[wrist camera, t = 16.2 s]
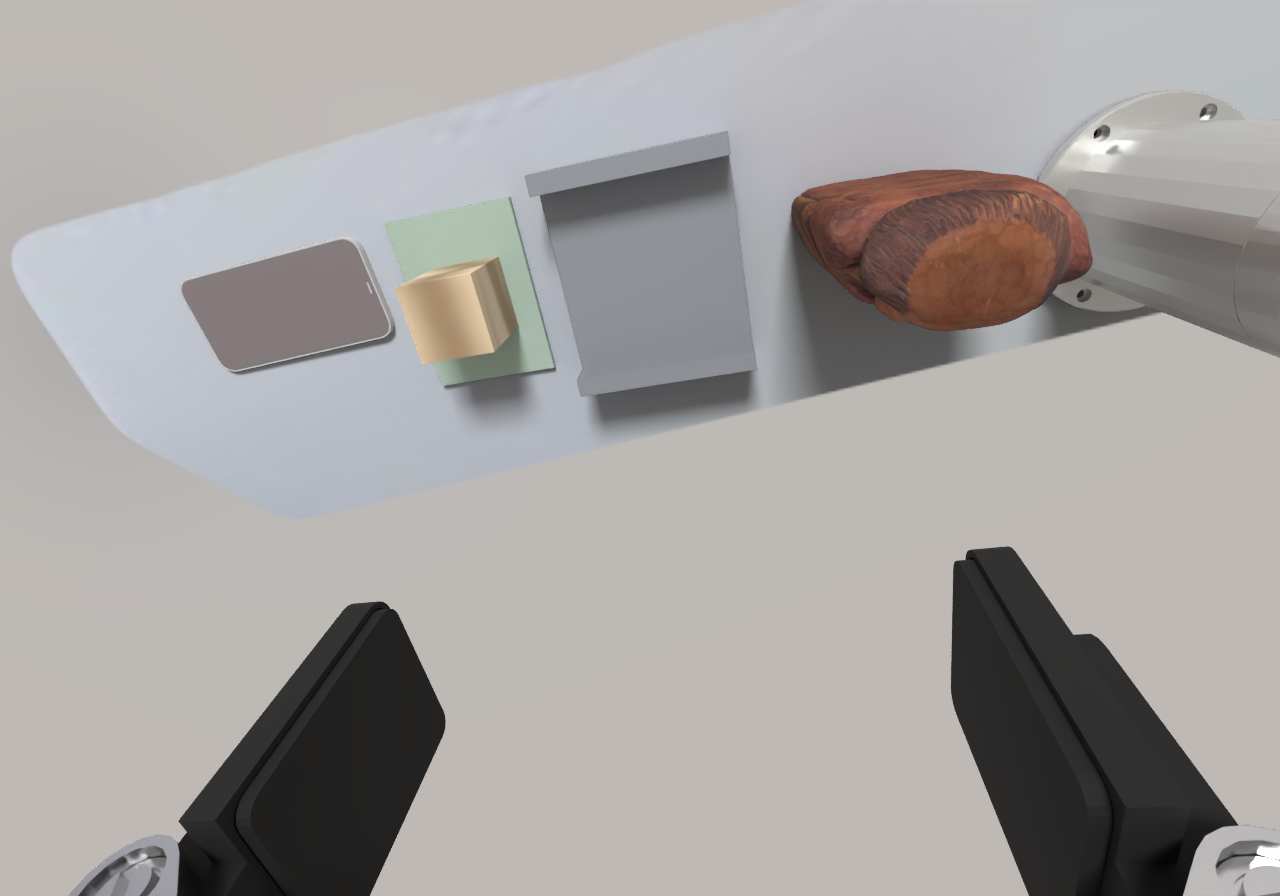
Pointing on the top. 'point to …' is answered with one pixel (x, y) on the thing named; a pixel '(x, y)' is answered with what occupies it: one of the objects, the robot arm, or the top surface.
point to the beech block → (458, 310)
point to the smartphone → (289, 304)
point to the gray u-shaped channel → (650, 264)
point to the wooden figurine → (945, 244)
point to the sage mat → (469, 240)
